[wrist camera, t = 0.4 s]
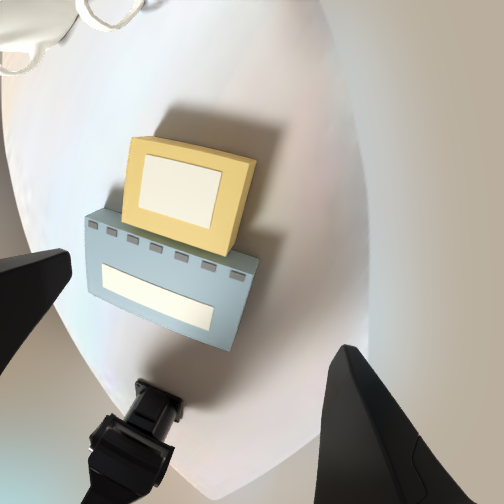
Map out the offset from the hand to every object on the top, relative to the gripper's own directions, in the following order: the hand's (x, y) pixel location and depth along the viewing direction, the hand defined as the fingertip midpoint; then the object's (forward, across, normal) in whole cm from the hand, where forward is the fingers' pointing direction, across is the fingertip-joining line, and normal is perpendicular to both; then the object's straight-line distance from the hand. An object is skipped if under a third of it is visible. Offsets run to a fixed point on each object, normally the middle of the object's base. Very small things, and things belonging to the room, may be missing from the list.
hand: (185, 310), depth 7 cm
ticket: (+12, +6, +7) cm, 15 cm away
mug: (+12, +24, -14) cm, 31 cm away
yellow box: (+12, +5, 0) cm, 13 cm away
